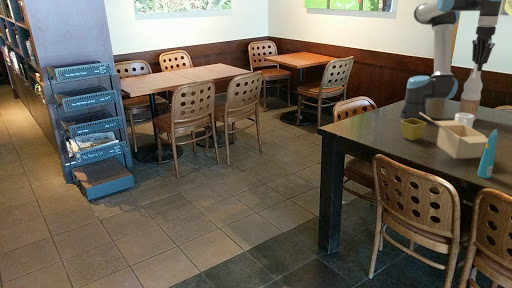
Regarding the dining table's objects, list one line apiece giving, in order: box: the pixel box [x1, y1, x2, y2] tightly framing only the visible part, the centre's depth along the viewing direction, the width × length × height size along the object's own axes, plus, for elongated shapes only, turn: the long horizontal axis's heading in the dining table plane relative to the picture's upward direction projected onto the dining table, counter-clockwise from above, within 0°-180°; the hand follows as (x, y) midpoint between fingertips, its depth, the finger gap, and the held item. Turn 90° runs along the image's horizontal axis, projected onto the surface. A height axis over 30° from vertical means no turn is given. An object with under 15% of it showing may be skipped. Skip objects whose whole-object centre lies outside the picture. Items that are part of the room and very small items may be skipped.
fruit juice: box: [457, 68, 483, 121], centre depth 211 cm, size 9×9×28 cm
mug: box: [454, 112, 475, 129], centre depth 192 cm, size 12×9×10 cm
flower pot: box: [400, 118, 427, 141], centre depth 188 cm, size 9×9×9 cm
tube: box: [476, 128, 498, 179], centre depth 148 cm, size 7×5×19 cm, turn 140°
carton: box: [434, 119, 489, 160], centre depth 172 cm, size 28×12×10 cm, turn 4°
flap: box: [420, 112, 454, 135], centre depth 168 cm, size 10×1×14 cm
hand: (476, 77), depth 179 cm, fingers closed
